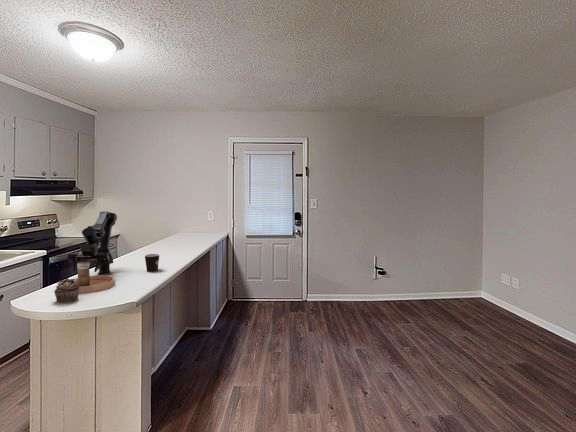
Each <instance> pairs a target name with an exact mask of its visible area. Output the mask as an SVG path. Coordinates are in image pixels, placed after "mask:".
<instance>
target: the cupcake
mask: <svg viewBox="0 0 576 432" xmlns="http://www.w3.org/2000/svg"><path fill="white" fill-rule="evenodd" d="M56 284H57V285H56V286H55V287H56V288H55V290H54V291H53V293H54V295H55V300H56V302H57V303H58V304H67V303H71V302H75V301H77V300H78V298H79V294H80V293H79V290H80V289H79V285H78V283H77V280H76V278H69V277H67V278H65V279H61V280H59V281H58V282H56Z"/></svg>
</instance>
